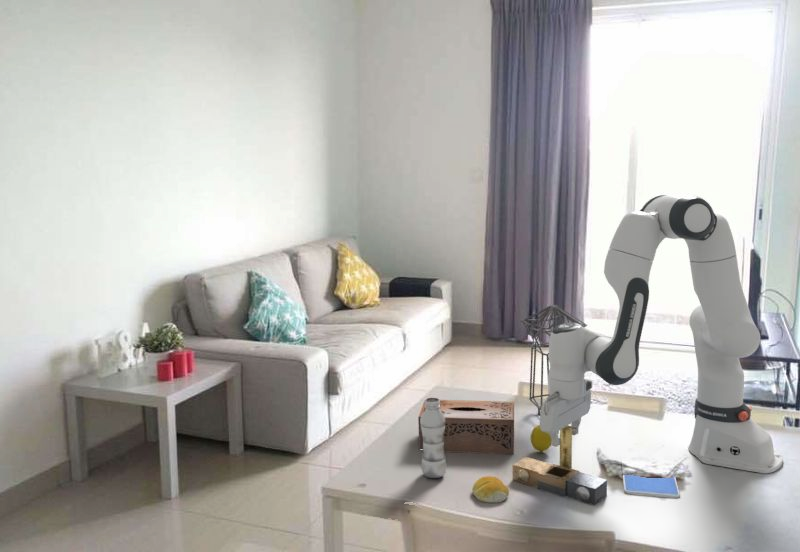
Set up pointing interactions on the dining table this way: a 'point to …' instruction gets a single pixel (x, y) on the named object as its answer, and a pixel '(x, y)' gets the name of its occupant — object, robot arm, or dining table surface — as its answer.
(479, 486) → the bread roll
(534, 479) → the block
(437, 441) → the plastic bottle
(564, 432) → the brass pin
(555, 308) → the geometric lantern
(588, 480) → the block
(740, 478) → the dining table surface
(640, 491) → the tablet computer
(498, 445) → the tissue box cover
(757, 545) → the dining table surface
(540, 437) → the lemon
